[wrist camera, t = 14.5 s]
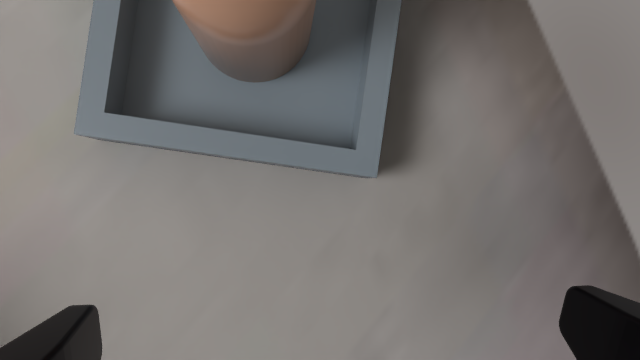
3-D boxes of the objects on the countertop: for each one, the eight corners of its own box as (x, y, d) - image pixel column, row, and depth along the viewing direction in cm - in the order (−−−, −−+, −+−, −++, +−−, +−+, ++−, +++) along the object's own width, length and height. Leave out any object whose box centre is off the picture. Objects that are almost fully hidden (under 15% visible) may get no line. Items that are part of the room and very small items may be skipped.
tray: (365, 178, 21) (376, 178, 19) (99, 139, 20) (73, 133, 18) (401, -78, 22) (417, -111, 19) (138, -128, 21) (119, -171, 18)
